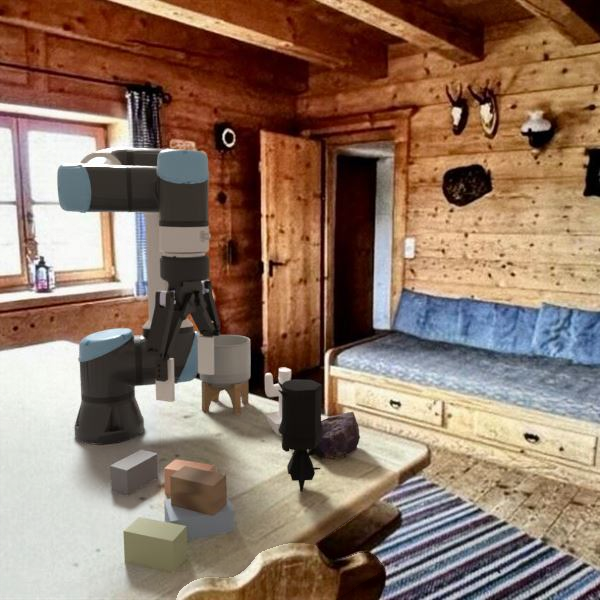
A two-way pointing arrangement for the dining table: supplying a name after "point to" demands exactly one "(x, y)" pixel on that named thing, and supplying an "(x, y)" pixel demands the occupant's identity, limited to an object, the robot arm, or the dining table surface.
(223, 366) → the planter
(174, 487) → the walnut block
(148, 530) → the olive block
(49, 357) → the dining table surface
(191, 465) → the terracotta block
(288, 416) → the toy
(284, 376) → the figurine
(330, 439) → the rock
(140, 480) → the charcoal block
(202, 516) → the slate slab
